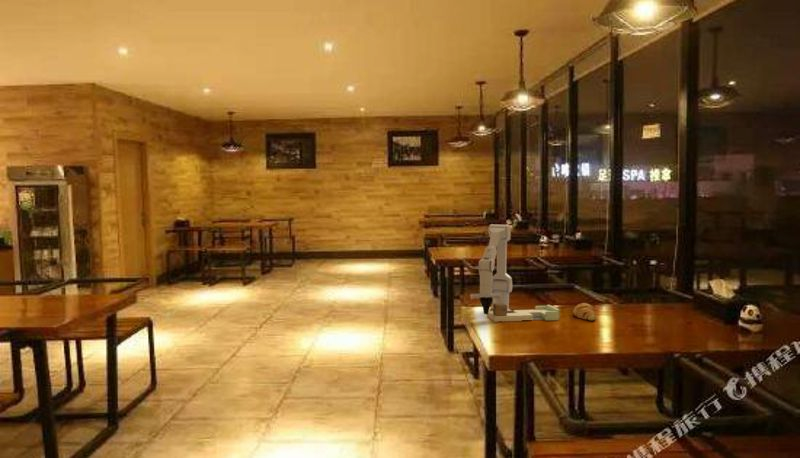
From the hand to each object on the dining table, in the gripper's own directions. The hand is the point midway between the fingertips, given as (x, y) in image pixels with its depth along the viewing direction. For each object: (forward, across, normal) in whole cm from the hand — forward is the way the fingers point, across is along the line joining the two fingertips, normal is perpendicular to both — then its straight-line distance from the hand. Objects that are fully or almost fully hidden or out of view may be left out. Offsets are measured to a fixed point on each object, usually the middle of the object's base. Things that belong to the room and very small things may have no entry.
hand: (485, 313), depth 273 cm
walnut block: (+1, +7, 0) cm, 7 cm away
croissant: (+4, +48, +1) cm, 49 cm away
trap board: (+3, +18, +3) cm, 19 cm away
